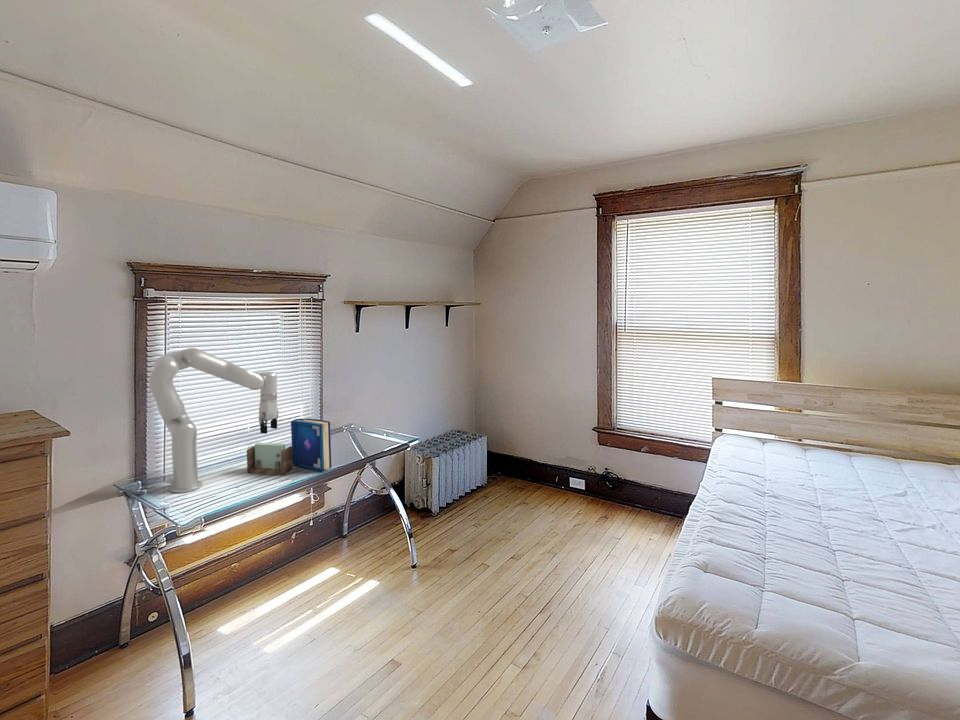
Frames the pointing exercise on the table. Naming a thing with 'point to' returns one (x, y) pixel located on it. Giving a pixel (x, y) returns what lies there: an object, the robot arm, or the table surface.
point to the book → (311, 443)
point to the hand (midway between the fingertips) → (269, 430)
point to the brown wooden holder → (285, 463)
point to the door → (268, 454)
